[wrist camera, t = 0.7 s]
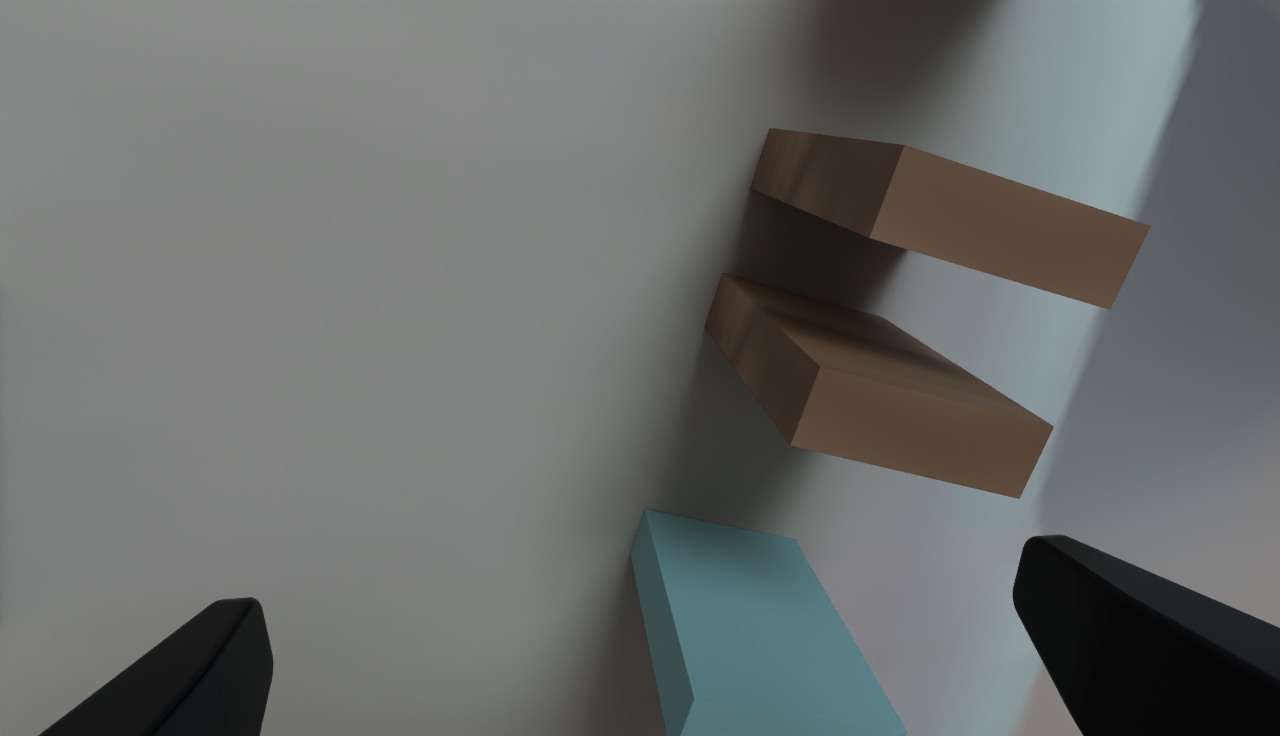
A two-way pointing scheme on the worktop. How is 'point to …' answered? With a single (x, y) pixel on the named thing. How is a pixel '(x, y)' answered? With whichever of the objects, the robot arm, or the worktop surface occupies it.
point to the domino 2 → (871, 390)
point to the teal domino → (748, 637)
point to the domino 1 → (953, 212)
